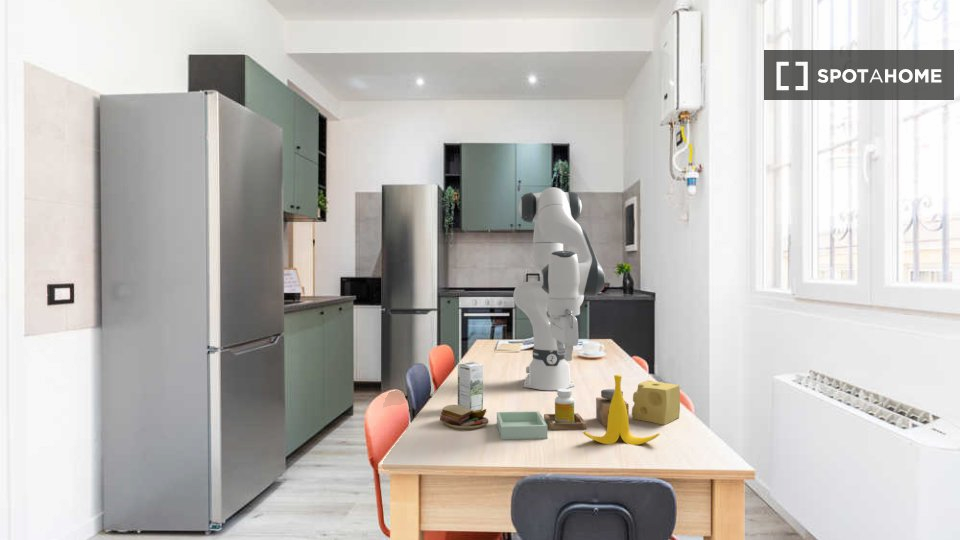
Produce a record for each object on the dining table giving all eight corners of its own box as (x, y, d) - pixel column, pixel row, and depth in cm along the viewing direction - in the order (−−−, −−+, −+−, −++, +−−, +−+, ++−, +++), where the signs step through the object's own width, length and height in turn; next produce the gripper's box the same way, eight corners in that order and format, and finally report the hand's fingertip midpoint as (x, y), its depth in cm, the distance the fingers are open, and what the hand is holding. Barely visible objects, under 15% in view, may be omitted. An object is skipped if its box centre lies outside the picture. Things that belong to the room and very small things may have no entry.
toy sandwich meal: (471, 434, 145) (471, 416, 145) (432, 426, 153) (432, 409, 153) (497, 423, 155) (497, 406, 155) (459, 415, 163) (459, 400, 163)
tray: (496, 423, 154) (496, 412, 154) (538, 422, 154) (538, 411, 154) (501, 439, 140) (501, 426, 140) (547, 438, 140) (547, 425, 140)
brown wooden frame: (544, 419, 157) (544, 414, 157) (578, 418, 158) (578, 413, 158) (550, 430, 147) (550, 424, 147) (586, 429, 148) (586, 423, 148)
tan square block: (596, 418, 159) (596, 388, 159) (619, 417, 159) (619, 388, 159) (603, 426, 151) (603, 395, 151) (628, 425, 151) (628, 394, 151)
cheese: (631, 419, 158) (631, 384, 158) (648, 411, 166) (648, 379, 165) (666, 426, 151) (666, 390, 150) (681, 418, 158) (681, 383, 158)
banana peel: (581, 445, 135) (581, 378, 135) (610, 426, 151) (610, 366, 151) (647, 458, 126) (647, 387, 126) (670, 437, 141) (670, 373, 141)
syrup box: (470, 406, 172) (470, 361, 172) (483, 410, 168) (483, 363, 168) (457, 410, 168) (456, 363, 168) (470, 413, 164) (470, 366, 164)
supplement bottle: (574, 427, 149) (573, 392, 149) (554, 426, 151) (554, 391, 150) (574, 422, 155) (574, 388, 155) (555, 421, 156) (555, 387, 156)
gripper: (584, 311, 142) (584, 363, 142) (567, 305, 163) (567, 351, 163) (560, 311, 142) (560, 364, 142) (546, 306, 162) (546, 352, 162)
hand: (564, 357), depth 152 cm, fingers open, 8 cm apart
